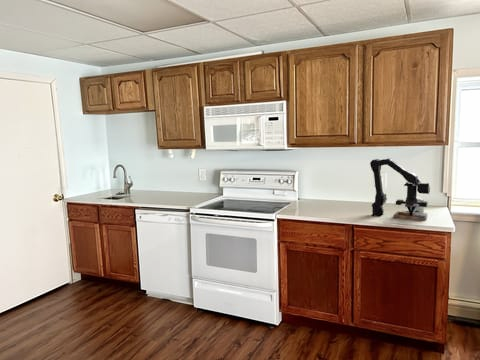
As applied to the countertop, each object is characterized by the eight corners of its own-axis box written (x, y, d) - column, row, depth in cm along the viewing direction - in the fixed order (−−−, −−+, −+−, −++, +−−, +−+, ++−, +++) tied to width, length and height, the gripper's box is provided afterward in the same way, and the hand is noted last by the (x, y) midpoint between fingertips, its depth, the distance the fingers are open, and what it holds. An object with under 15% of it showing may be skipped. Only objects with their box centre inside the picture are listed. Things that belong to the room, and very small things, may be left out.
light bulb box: (423, 215, 250) (424, 199, 249) (413, 215, 251) (413, 199, 250) (419, 211, 261) (419, 196, 259) (409, 211, 262) (409, 196, 260)
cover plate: (412, 219, 237) (412, 214, 236) (414, 216, 243) (414, 212, 243) (425, 220, 232) (426, 215, 232) (427, 217, 239) (427, 213, 238)
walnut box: (393, 219, 241) (393, 215, 241) (397, 215, 251) (397, 211, 251) (423, 222, 231) (423, 217, 231) (426, 218, 241) (426, 214, 240)
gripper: (394, 193, 237) (393, 217, 239) (425, 195, 226) (424, 220, 228) (397, 191, 246) (397, 213, 248) (428, 192, 235) (427, 216, 238)
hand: (411, 215), depth 240 cm, fingers closed
